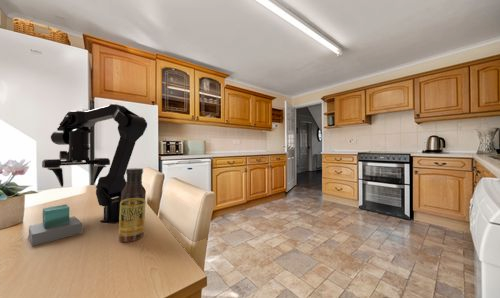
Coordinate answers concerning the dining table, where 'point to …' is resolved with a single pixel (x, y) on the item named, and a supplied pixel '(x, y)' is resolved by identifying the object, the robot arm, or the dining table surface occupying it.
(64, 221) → the teal cube
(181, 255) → the dining table surface
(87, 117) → the robot arm
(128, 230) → the sauce bottle
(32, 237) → the gray plinth
